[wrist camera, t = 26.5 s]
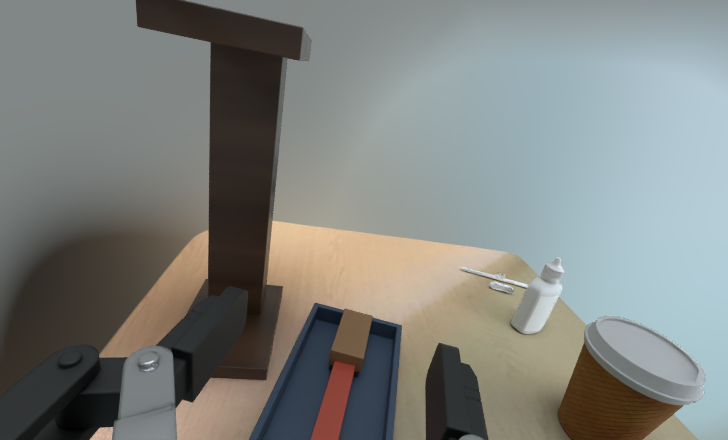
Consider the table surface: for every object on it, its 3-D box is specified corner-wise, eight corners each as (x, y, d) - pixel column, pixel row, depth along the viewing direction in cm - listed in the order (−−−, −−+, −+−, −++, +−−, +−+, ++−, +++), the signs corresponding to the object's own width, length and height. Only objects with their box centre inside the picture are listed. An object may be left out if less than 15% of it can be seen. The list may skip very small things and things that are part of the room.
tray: (376, 554, 24) (385, 533, 23) (225, 507, 25) (226, 484, 23) (396, 342, 43) (401, 325, 42) (312, 319, 44) (314, 302, 43)
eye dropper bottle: (551, 339, 50) (587, 270, 45) (514, 333, 50) (548, 263, 45) (537, 319, 54) (569, 254, 49) (503, 313, 54) (532, 247, 49)
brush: (337, 481, 27) (343, 458, 26) (294, 469, 27) (298, 445, 26) (367, 334, 42) (372, 315, 41) (340, 327, 43) (344, 308, 41)
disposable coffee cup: (586, 482, 31) (654, 391, 27) (525, 392, 40) (569, 310, 35) (664, 475, 34) (741, 390, 29) (591, 390, 42) (641, 314, 37)
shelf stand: (265, 380, 35) (303, 27, 22) (159, 374, 33) (134, -12, 20) (281, 295, 47) (311, 39, 35) (205, 288, 46) (207, 16, 33)
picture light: (535, 289, 63) (539, 279, 62) (541, 303, 59) (546, 293, 58) (459, 268, 64) (463, 259, 63) (460, 280, 60) (464, 270, 59)
